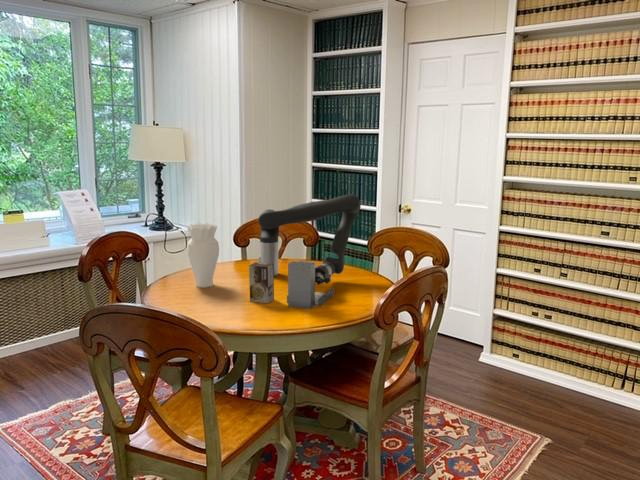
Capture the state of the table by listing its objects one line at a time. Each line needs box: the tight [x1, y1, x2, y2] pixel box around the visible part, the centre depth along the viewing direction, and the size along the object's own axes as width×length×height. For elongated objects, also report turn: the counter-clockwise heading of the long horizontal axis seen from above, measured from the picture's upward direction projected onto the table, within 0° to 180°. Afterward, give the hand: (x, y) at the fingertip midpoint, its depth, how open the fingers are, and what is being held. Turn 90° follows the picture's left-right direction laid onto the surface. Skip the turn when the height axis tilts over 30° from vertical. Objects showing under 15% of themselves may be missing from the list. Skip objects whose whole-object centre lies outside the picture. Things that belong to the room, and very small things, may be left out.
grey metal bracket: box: [286, 260, 335, 310], centre depth 231 cm, size 15×23×18 cm
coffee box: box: [248, 261, 275, 304], centre depth 231 cm, size 9×6×16 cm
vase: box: [186, 222, 220, 288], centre depth 253 cm, size 15×15×29 cm
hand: (308, 281), depth 232 cm, fingers open, 8 cm apart
